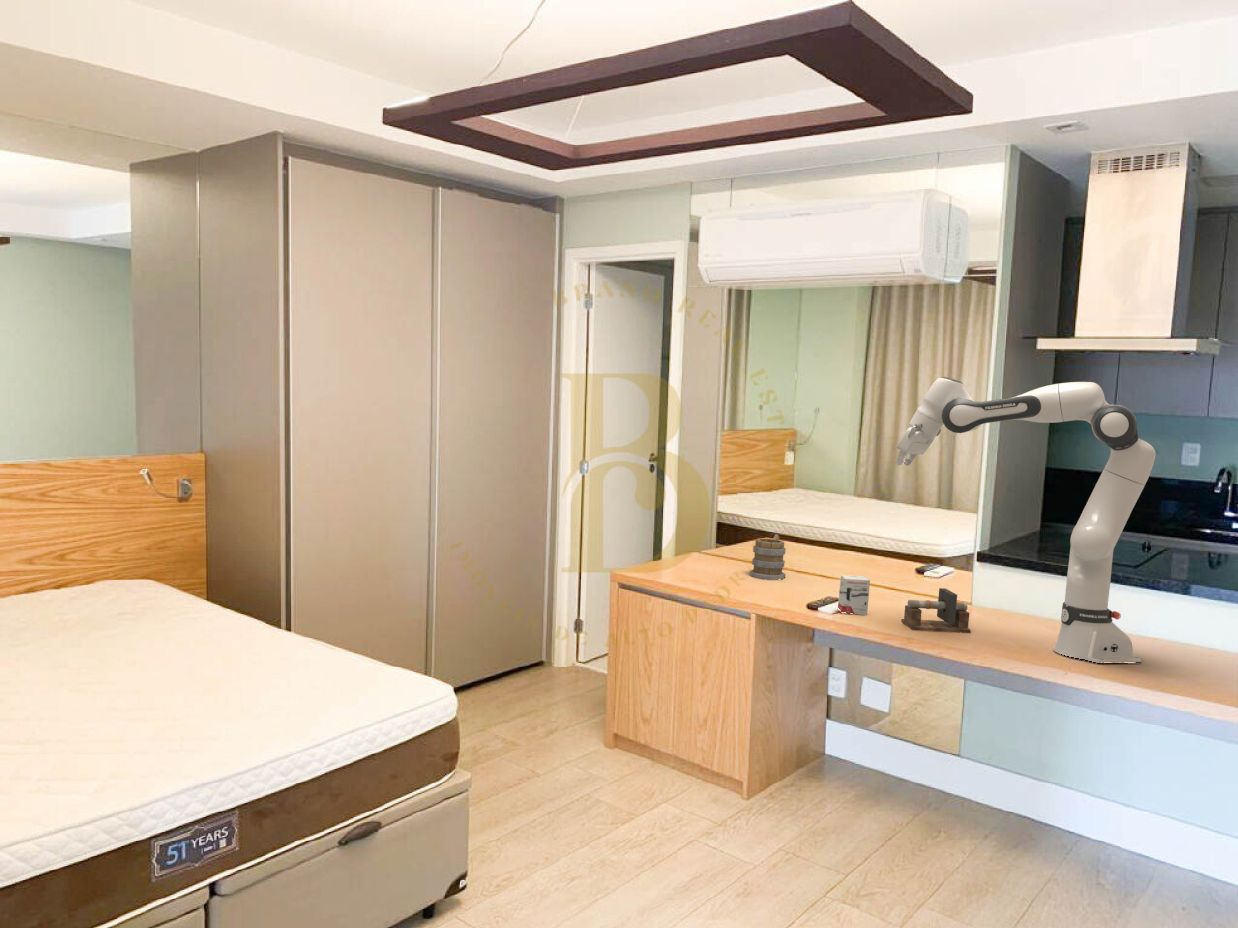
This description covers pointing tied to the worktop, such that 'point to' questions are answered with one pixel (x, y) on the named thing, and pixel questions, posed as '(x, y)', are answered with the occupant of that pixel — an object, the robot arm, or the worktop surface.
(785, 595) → the worktop surface
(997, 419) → the robot arm
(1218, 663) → the worktop surface
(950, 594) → the dark grey flat slab
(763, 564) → the tankard
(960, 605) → the pipe stand
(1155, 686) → the worktop surface
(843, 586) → the ink box
